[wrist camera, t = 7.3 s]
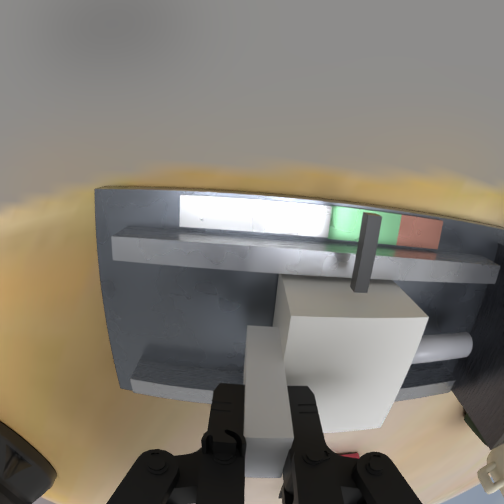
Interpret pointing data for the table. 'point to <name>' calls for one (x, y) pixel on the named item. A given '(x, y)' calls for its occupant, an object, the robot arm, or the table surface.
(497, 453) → the character mug
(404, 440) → the table surface
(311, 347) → the gauge carriage
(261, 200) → the gauge bed
